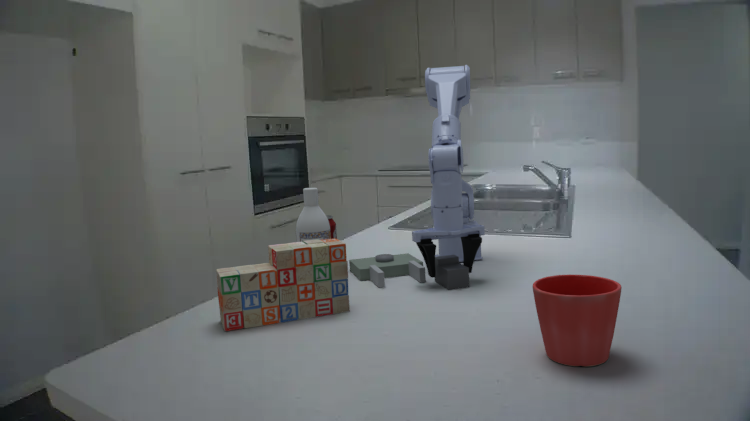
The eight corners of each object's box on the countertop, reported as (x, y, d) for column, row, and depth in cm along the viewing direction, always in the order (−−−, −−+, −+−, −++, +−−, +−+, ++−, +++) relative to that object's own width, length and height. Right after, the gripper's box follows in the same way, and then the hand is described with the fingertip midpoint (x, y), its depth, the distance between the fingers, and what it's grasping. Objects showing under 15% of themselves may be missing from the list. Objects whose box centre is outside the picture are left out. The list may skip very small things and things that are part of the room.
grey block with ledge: (454, 279, 115) (453, 254, 115) (469, 288, 109) (468, 261, 108) (434, 282, 114) (433, 257, 114) (448, 290, 108) (447, 264, 107)
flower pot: (521, 344, 79) (520, 276, 78) (597, 337, 80) (597, 270, 79) (551, 376, 68) (550, 298, 67) (638, 368, 69) (639, 291, 68)
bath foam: (338, 285, 115) (332, 187, 112) (306, 291, 112) (299, 191, 109) (326, 278, 121) (320, 185, 118) (295, 283, 118) (288, 188, 115)
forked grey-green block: (408, 263, 131) (408, 249, 130) (435, 280, 115) (434, 264, 114) (349, 270, 127) (349, 255, 127) (368, 289, 111) (367, 272, 111)
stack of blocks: (224, 333, 90) (217, 258, 89) (220, 321, 96) (213, 251, 95) (350, 311, 98) (346, 242, 96) (339, 302, 104) (335, 236, 102)
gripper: (419, 211, 104) (422, 283, 106) (490, 205, 108) (492, 274, 110) (407, 207, 111) (410, 274, 113) (475, 201, 115) (476, 266, 117)
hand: (450, 274), depth 112 cm, fingers open, 7 cm apart
